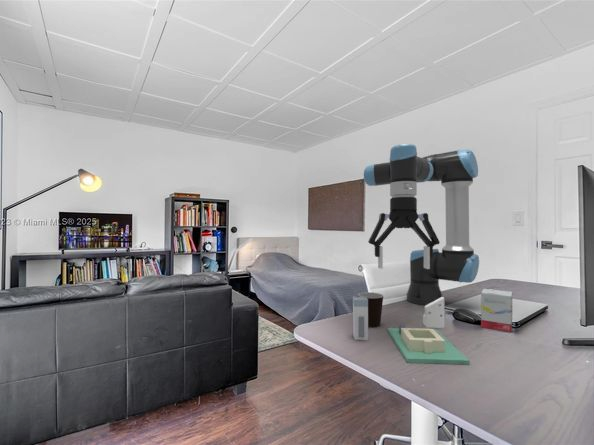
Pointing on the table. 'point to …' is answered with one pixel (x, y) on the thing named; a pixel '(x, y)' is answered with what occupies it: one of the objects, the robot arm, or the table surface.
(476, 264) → the robot arm
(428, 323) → the white wedge bracket
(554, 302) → the table surface
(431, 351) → the board
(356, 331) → the plug
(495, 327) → the ink box
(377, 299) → the coffee mug
